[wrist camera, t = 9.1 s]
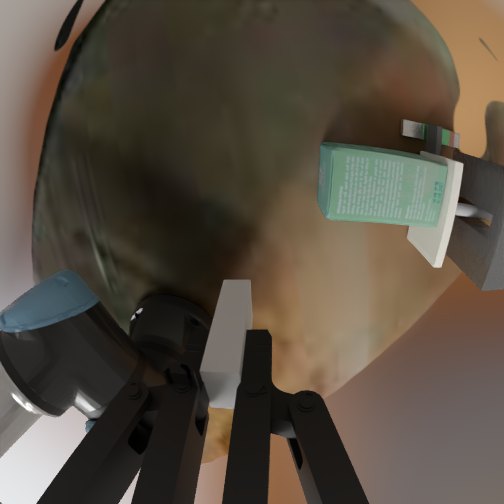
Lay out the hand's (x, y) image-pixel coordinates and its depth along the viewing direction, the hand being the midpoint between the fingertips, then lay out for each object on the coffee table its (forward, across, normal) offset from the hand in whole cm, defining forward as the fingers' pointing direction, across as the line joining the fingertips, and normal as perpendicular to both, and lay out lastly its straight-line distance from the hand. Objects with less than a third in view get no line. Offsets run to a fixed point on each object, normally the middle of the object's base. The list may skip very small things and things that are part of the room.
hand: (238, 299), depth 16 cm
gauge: (+19, +25, +3) cm, 31 cm away
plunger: (+18, +27, +3) cm, 33 cm away
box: (+19, +14, +4) cm, 24 cm away
